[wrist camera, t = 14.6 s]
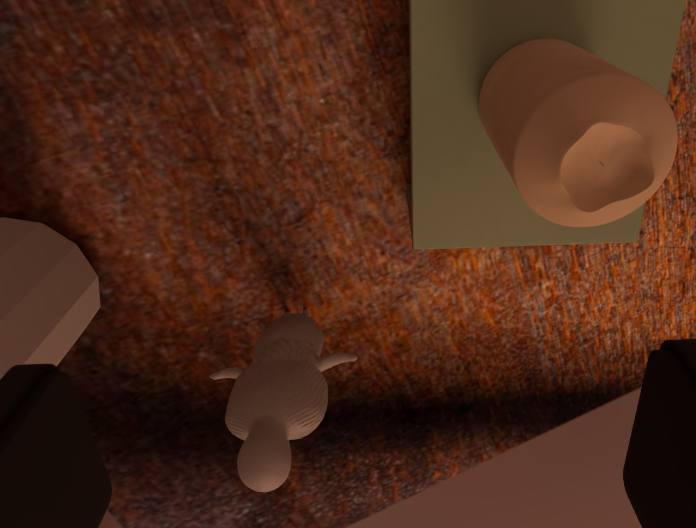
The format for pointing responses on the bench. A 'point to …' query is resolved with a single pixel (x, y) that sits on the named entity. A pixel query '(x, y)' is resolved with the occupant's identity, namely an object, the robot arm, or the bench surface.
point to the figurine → (278, 397)
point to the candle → (576, 132)
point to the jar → (42, 294)
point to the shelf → (464, 118)
